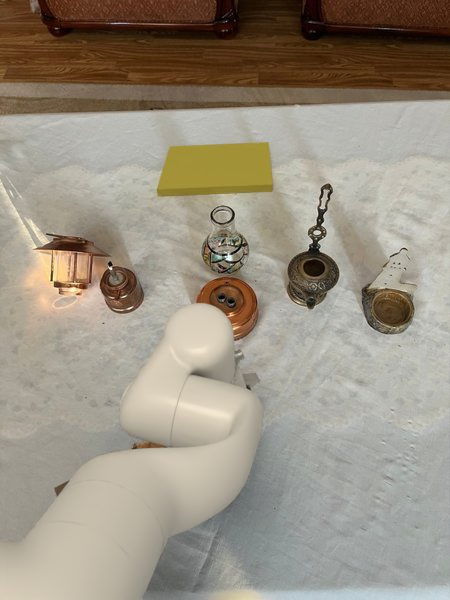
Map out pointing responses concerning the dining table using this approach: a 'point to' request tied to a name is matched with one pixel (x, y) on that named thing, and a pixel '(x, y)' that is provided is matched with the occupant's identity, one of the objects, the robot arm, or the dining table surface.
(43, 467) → the dining table surface
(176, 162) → the flat olive board
